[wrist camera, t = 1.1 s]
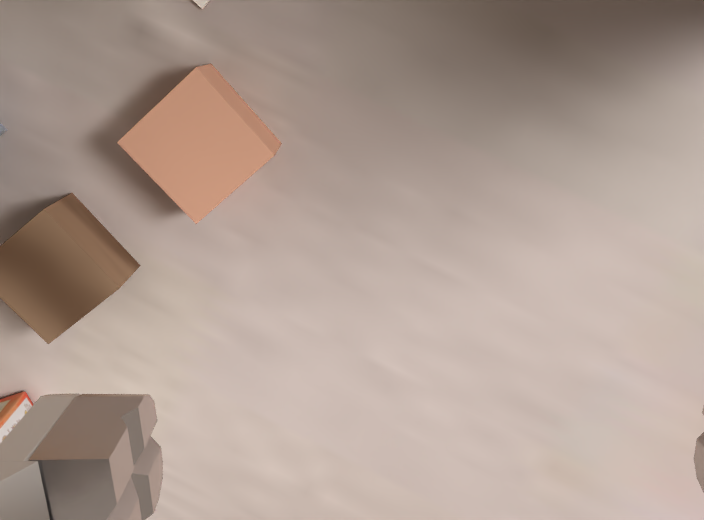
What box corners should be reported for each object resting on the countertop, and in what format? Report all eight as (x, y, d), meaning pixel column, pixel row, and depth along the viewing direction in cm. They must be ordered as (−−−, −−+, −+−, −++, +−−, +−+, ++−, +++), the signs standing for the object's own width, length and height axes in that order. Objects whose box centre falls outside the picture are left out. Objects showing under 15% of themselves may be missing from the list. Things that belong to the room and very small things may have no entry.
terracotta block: (211, 63, 37) (195, 67, 33) (282, 142, 38) (274, 155, 34) (139, 131, 38) (116, 142, 34) (210, 205, 40) (196, 224, 36)
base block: (73, 192, 39) (43, 208, 35) (141, 264, 41) (119, 287, 37) (7, 248, 40) (-29, 270, 37) (75, 316, 42) (48, 344, 38)
